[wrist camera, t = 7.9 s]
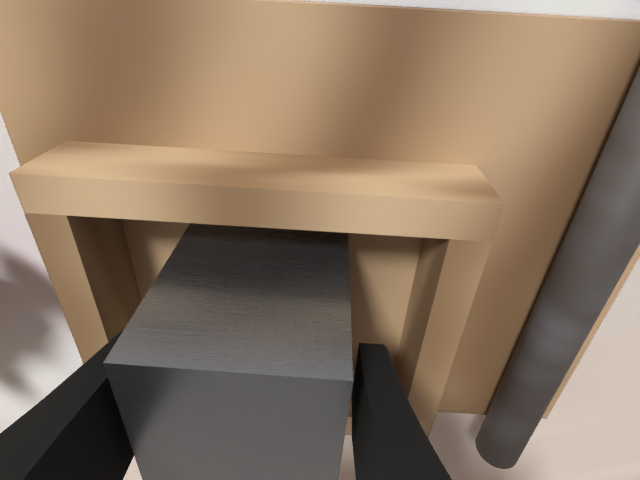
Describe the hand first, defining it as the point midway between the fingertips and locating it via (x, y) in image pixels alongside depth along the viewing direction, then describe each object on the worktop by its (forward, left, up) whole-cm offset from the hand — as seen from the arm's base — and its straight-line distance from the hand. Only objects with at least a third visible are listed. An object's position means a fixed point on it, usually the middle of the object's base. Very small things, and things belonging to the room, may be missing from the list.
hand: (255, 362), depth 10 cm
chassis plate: (-2, -1, -4) cm, 5 cm away
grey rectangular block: (0, 0, -3) cm, 3 cm away
